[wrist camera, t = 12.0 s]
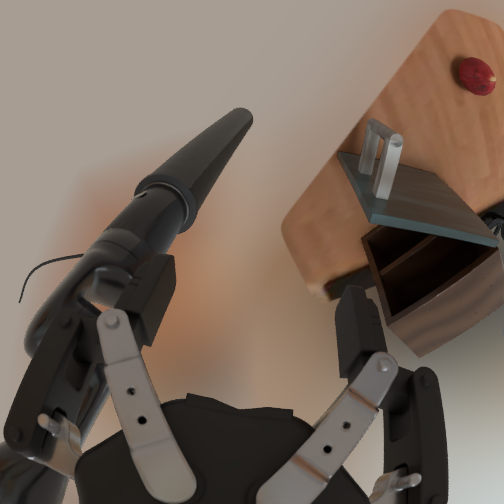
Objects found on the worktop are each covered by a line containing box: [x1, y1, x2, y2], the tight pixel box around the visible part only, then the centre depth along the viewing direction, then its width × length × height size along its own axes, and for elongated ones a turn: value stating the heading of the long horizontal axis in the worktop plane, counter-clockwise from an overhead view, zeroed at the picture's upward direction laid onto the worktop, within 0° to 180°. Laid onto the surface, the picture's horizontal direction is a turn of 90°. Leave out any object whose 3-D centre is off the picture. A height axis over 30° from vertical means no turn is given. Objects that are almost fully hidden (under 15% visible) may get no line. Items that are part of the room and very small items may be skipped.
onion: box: [459, 57, 497, 96], centre depth 21 cm, size 6×6×8 cm
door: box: [337, 118, 499, 247], centre depth 27 cm, size 8×17×19 cm, turn 87°
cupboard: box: [361, 225, 504, 358], centre depth 35 cm, size 12×17×19 cm
